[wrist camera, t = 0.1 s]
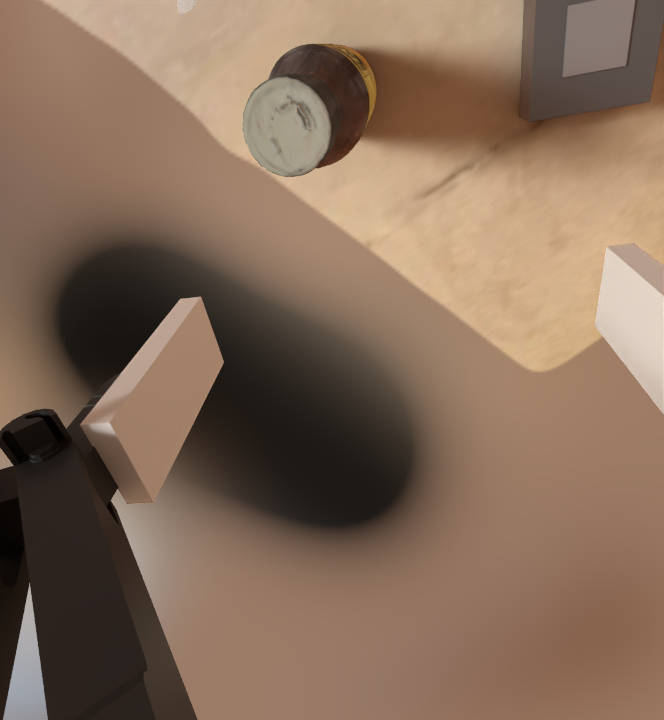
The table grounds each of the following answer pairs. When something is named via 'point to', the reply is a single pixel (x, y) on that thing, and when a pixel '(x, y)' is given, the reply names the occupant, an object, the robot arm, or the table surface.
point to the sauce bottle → (309, 109)
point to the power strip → (587, 55)
